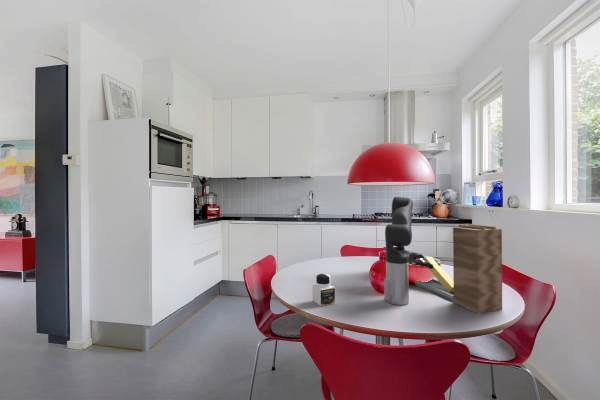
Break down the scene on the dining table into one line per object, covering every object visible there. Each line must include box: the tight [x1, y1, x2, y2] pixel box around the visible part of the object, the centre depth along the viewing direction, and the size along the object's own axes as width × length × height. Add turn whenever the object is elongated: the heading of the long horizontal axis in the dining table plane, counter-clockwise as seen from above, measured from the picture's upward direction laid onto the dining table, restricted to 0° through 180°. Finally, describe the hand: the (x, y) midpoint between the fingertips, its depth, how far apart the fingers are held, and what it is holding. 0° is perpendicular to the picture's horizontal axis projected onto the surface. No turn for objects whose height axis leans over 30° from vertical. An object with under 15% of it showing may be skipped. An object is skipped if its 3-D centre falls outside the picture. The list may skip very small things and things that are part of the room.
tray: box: [414, 278, 454, 302], centre depth 137 cm, size 11×25×2 cm, turn 15°
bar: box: [424, 256, 454, 293], centre depth 138 cm, size 4×20×4 cm, turn 15°
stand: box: [452, 223, 503, 314], centre depth 118 cm, size 12×12×33 cm
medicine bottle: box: [312, 273, 336, 307], centre depth 123 cm, size 7×7×12 cm
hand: (436, 266), depth 140 cm, fingers closed on bar, 3 cm apart
